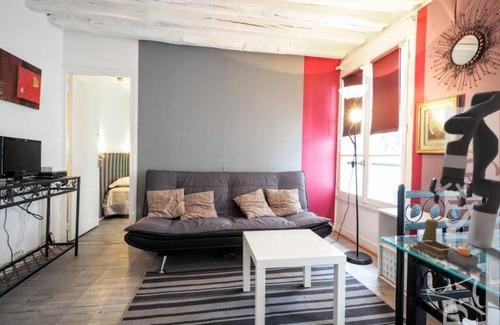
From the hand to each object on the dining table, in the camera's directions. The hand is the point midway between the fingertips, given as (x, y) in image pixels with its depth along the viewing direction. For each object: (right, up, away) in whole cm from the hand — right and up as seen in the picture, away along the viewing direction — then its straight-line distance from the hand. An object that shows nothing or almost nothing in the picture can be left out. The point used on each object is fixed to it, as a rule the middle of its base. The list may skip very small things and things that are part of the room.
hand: (448, 205), depth 109 cm
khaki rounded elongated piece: (+7, -22, +22) cm, 31 cm away
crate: (+1, -22, +9) cm, 24 cm away
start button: (+4, -21, -2) cm, 21 cm away
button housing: (+4, -23, -1) cm, 24 cm away
